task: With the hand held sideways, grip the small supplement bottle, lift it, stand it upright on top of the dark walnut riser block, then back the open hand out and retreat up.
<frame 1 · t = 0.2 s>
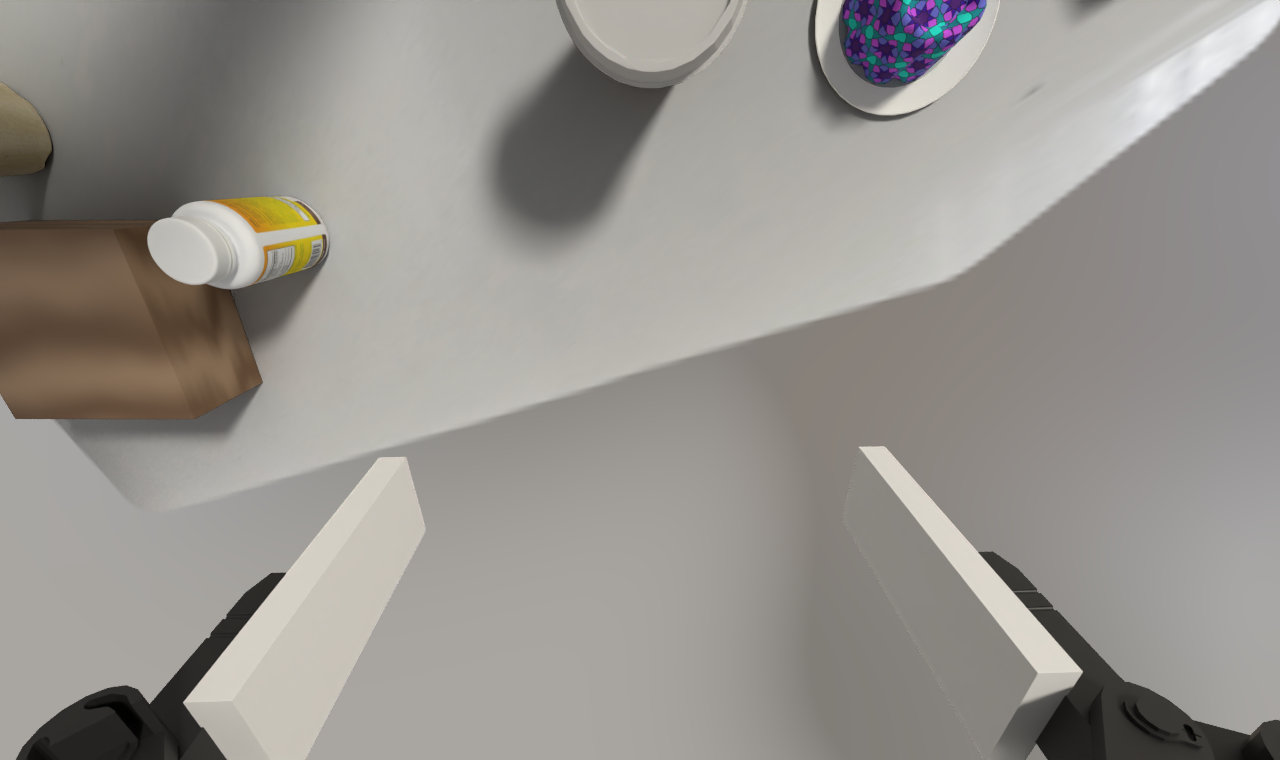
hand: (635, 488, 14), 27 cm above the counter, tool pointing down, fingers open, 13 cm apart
pudding: (899, 16, 32), on the counter
flower pot: (12, 127, 35), on the counter
walnut riser: (154, 306, 40), on the counter
supplement bottle: (298, 232, 38), on the counter
disposable coffee cup: (649, 34, 32), on the counter
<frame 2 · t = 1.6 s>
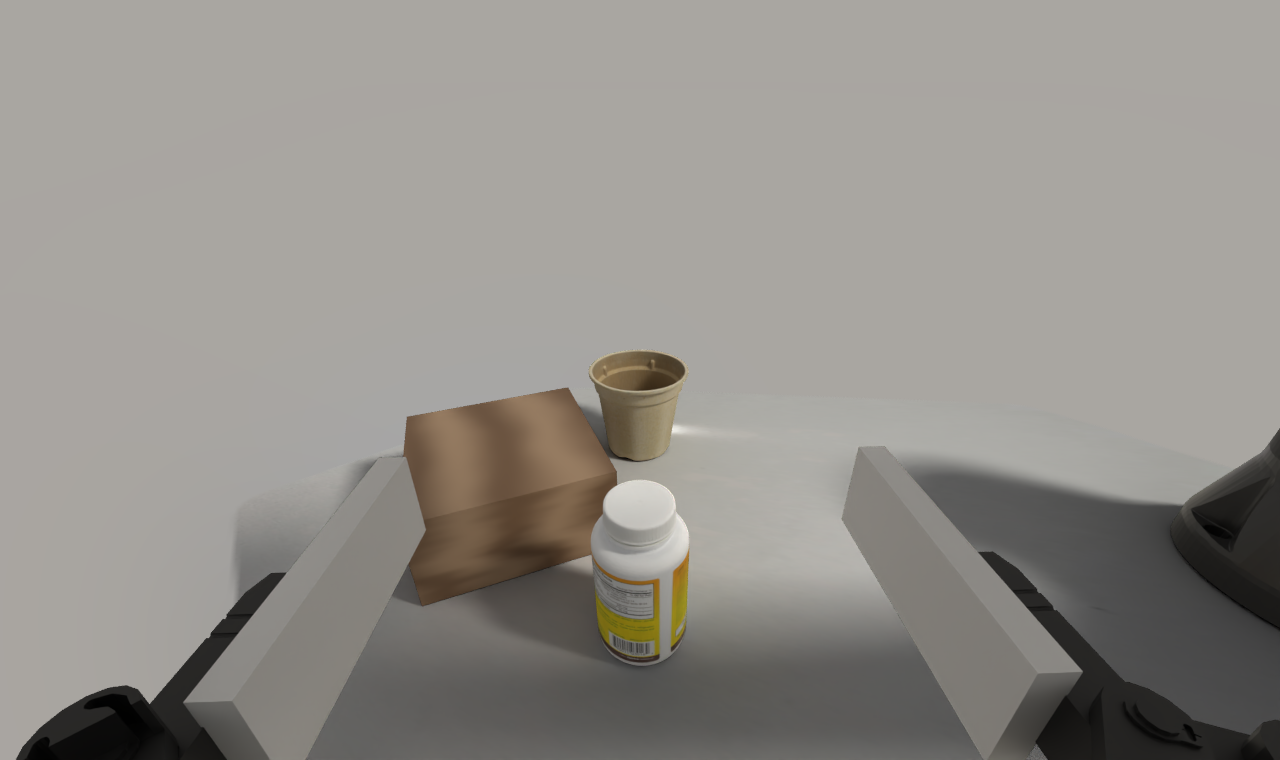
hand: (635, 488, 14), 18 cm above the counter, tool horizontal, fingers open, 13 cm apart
flower pot: (639, 446, 48), on the counter
walnut riser: (513, 511, 39), on the counter
supplement bottle: (641, 629, 30), on the counter
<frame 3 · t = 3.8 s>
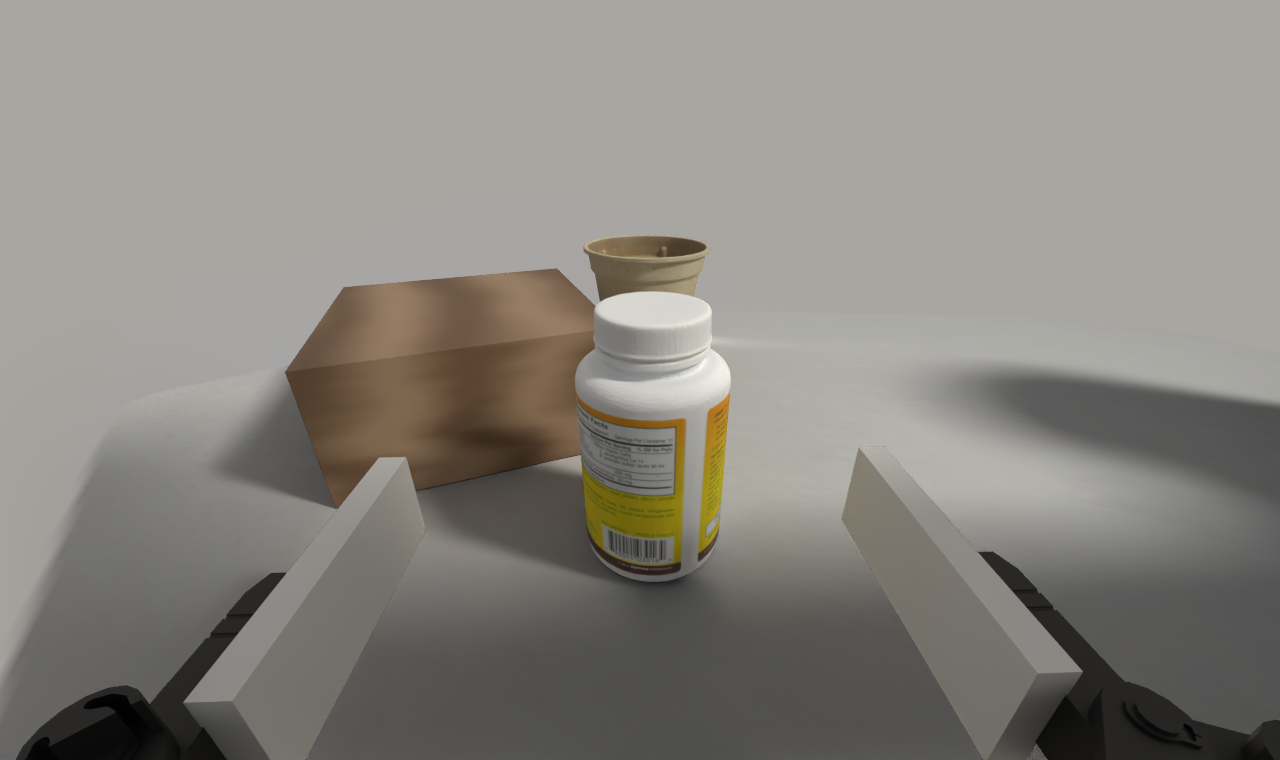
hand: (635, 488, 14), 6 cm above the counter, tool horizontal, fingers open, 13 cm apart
flower pot: (646, 354, 39), on the counter
walnut riser: (481, 410, 30), on the counter
supplement bottle: (651, 539, 20), on the counter
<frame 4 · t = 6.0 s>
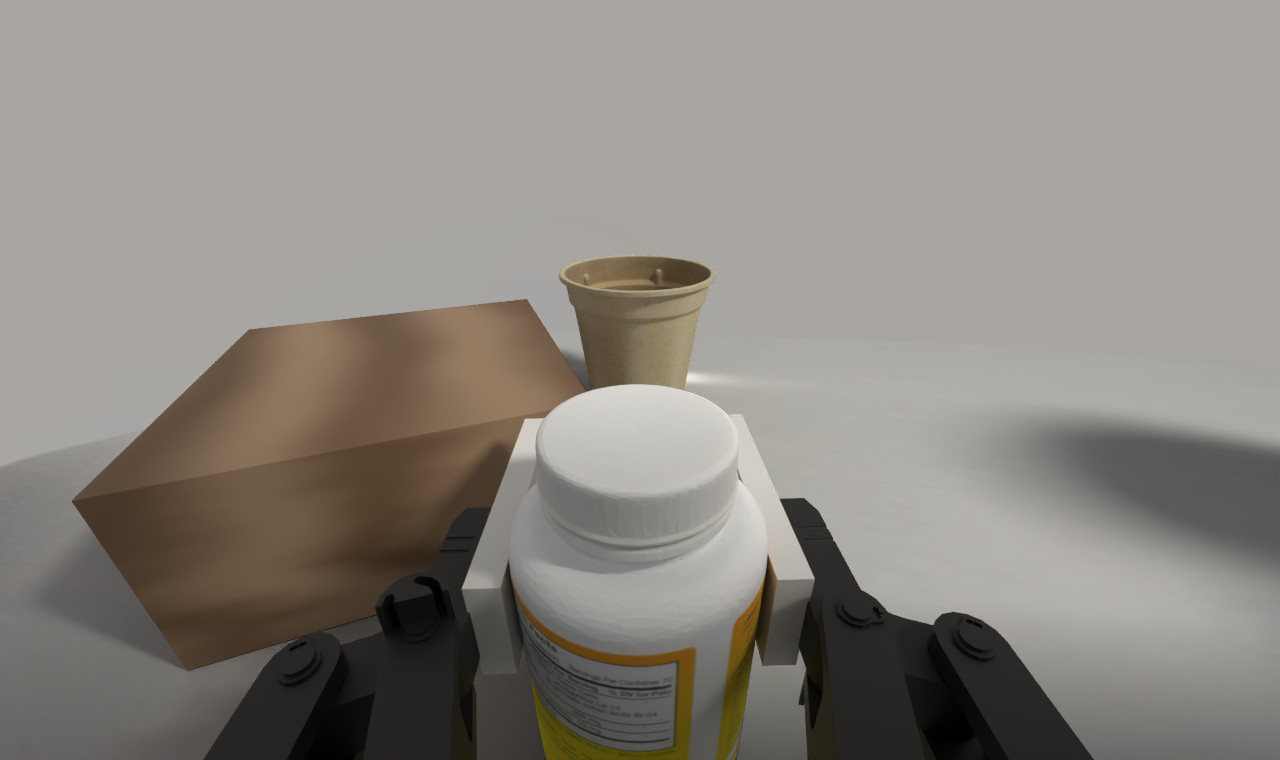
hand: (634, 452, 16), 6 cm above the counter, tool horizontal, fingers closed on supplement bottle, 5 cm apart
flower pot: (638, 398, 32), on the counter
walnut riser: (424, 488, 23), on the counter
supplement bottle: (639, 731, 14), on the counter, touching gripper
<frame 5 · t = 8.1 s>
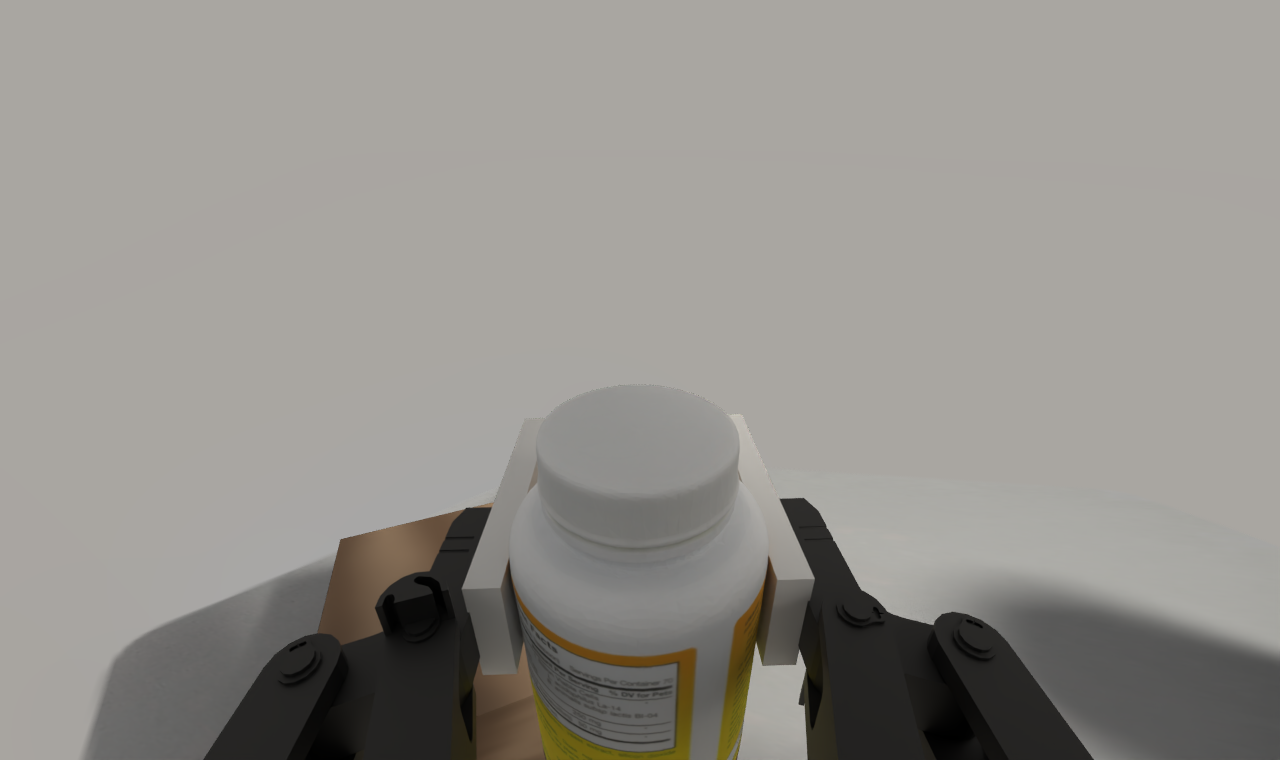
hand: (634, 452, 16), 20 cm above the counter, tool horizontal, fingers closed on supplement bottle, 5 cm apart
walnut riser: (481, 670, 29), on the counter
supplement bottle: (640, 731, 14), point 14 cm above the counter, touching gripper
when the fingers open (14 cm above the counter, at t = 10.7 s): supplement bottle drops 1 cm, resting on walnut riser.
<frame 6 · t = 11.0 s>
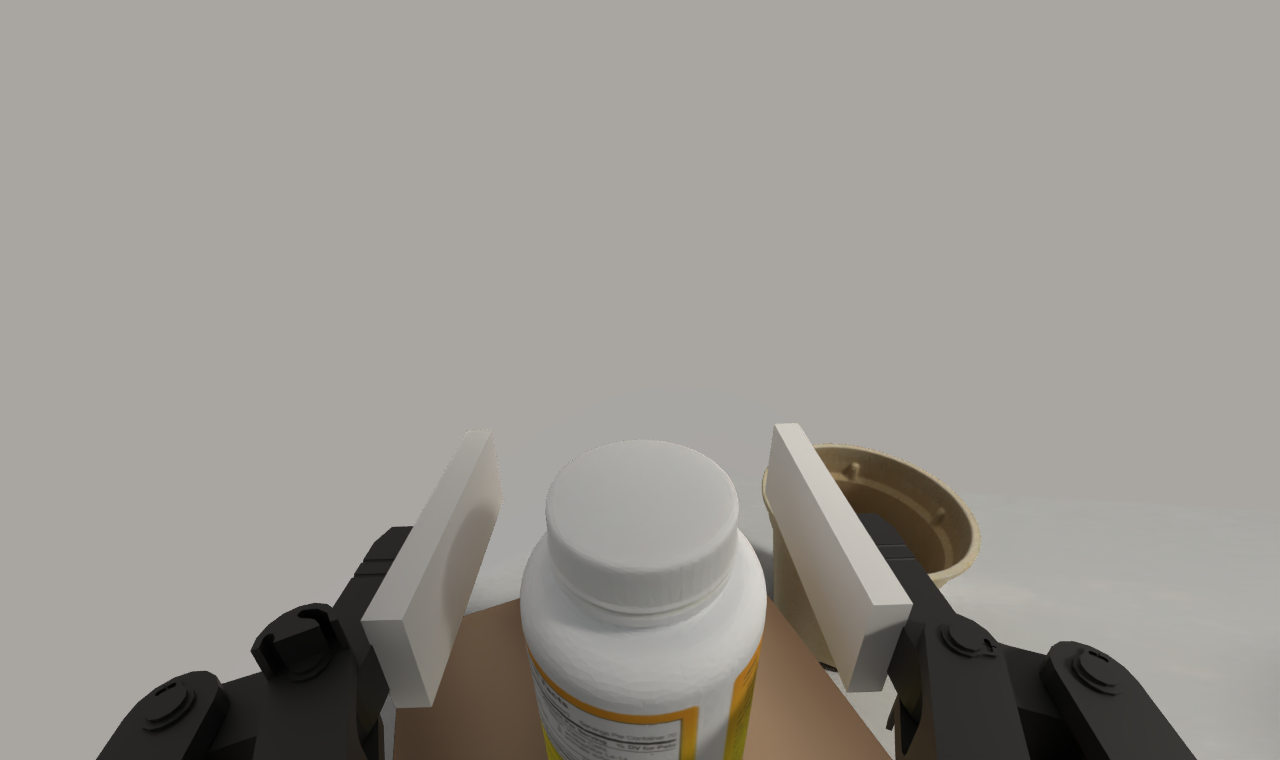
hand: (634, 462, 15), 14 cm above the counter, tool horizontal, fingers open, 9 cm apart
flower pot: (831, 622, 26), on the counter
supplement bottle: (644, 759, 14), point 7 cm above the counter, touching walnut riser
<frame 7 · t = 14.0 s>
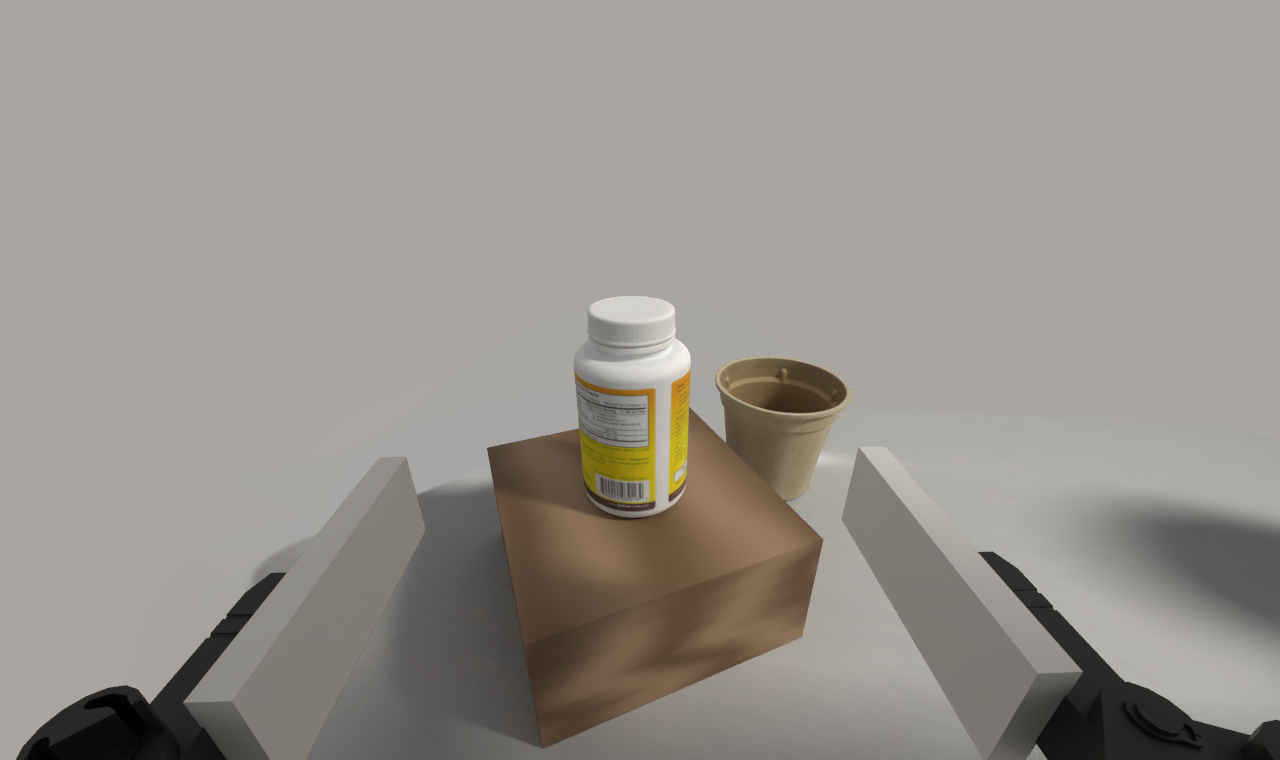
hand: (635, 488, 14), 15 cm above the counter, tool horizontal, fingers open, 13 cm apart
flower pot: (767, 480, 38), on the counter
walnut riser: (633, 578, 29), on the counter
supplement bottle: (634, 490, 26), point 7 cm above the counter, touching walnut riser
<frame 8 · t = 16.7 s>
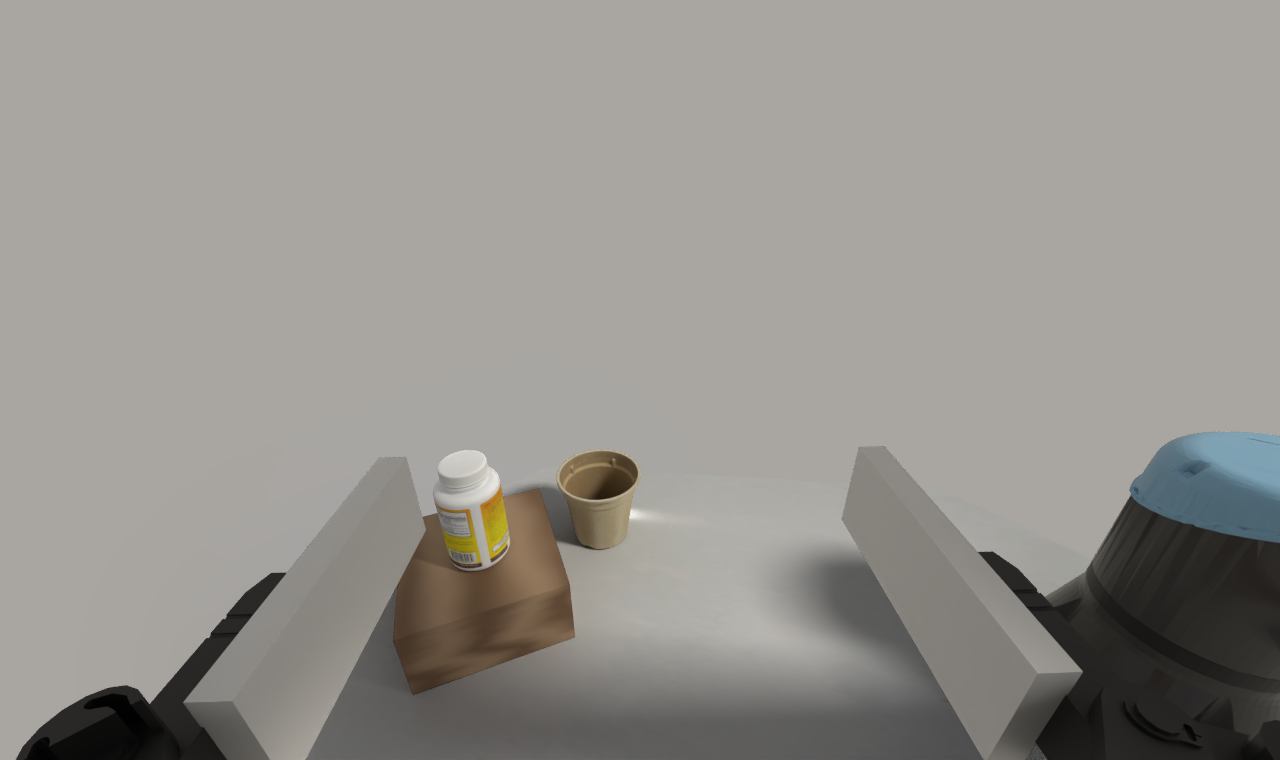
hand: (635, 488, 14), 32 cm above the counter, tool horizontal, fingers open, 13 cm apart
flower pot: (602, 532, 56), on the counter
walnut riser: (490, 601, 48), on the counter
supplement bottle: (481, 552, 45), point 7 cm above the counter, touching walnut riser
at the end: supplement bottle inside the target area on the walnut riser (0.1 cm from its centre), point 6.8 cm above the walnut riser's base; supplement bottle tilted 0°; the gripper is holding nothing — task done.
